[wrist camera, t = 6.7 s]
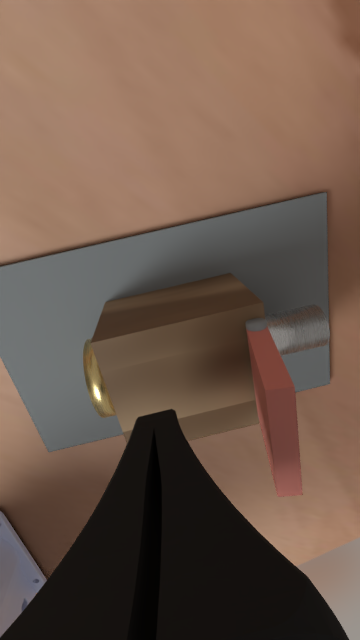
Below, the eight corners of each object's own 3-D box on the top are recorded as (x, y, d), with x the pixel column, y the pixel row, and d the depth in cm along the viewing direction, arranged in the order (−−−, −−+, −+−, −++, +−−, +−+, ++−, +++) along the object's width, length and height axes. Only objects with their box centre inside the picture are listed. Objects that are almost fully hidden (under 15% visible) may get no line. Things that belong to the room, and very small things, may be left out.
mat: (326, 380, 21) (329, 384, 20) (50, 447, 20) (48, 452, 20) (322, 192, 16) (326, 192, 16) (-36, 274, 16) (-41, 276, 15)
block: (244, 365, 19) (275, 419, 15) (134, 391, 19) (131, 454, 14) (230, 272, 17) (263, 302, 12) (105, 302, 17) (90, 343, 12)
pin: (301, 341, 18) (341, 378, 15) (113, 386, 18) (104, 435, 14) (297, 278, 17) (341, 301, 13) (91, 326, 17) (76, 364, 13)
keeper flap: (302, 498, 10) (278, 500, 10) (274, 409, 14) (256, 411, 14) (294, 380, 8) (264, 384, 8) (264, 316, 12) (244, 319, 12)
